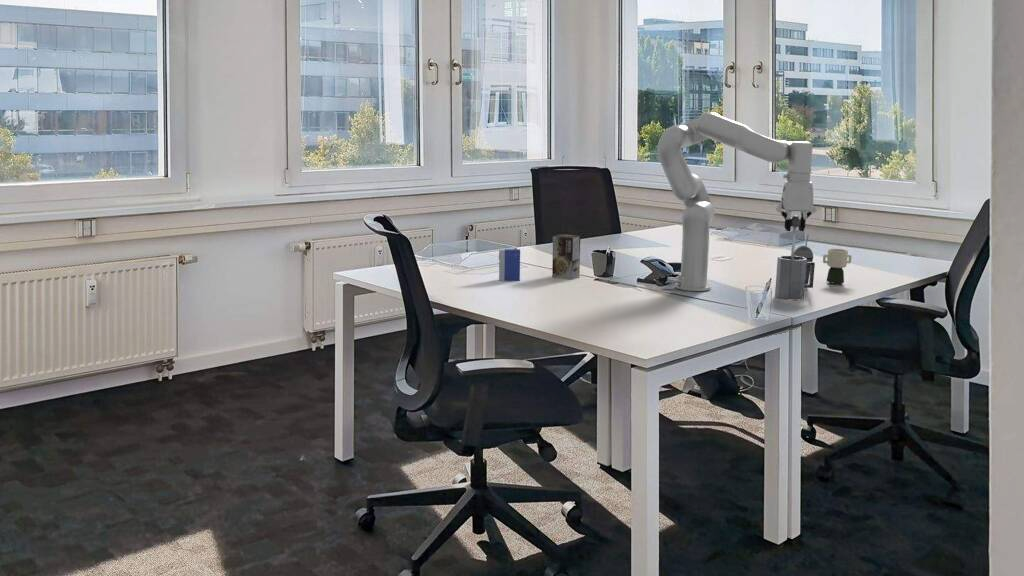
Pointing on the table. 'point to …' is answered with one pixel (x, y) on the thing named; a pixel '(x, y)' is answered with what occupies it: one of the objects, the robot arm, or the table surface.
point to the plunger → (794, 232)
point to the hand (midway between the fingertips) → (794, 230)
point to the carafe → (792, 277)
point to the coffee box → (566, 256)
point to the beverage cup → (806, 253)
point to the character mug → (836, 264)
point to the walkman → (509, 264)
